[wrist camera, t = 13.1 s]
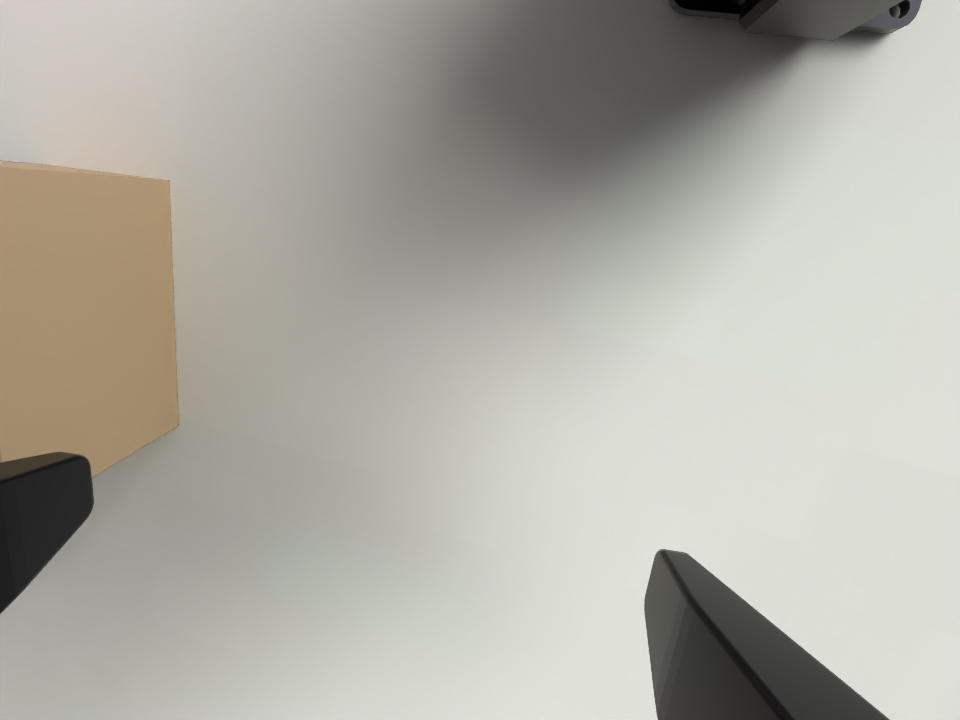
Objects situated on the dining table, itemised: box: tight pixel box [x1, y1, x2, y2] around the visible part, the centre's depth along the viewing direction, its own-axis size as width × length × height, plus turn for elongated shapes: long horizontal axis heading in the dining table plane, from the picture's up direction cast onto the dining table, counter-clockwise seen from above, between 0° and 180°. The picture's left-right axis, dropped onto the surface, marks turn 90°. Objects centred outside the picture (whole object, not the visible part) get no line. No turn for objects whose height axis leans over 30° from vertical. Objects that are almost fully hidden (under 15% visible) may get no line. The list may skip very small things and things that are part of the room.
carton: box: [0, 161, 179, 477], centre depth 17 cm, size 5×9×7 cm, turn 173°
